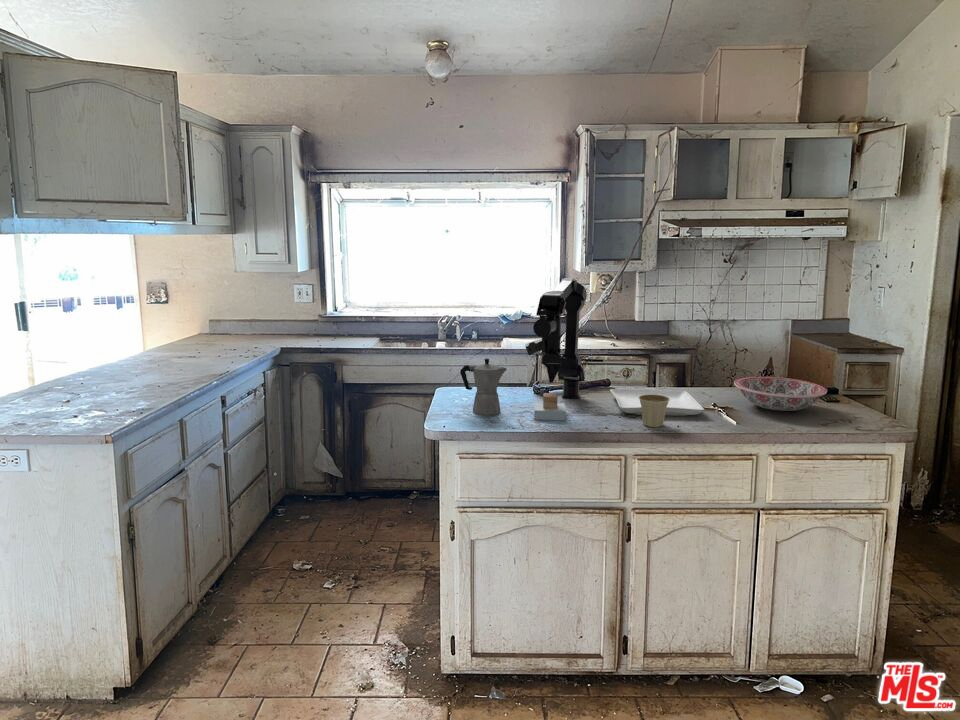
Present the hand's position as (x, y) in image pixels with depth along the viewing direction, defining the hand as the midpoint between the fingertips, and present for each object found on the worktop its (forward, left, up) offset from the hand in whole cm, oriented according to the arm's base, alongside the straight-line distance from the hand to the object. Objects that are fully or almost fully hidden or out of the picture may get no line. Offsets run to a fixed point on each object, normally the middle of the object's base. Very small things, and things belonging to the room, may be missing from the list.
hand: (550, 379), depth 226 cm
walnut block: (+4, 0, -9) cm, 9 cm away
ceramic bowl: (-14, +78, -12) cm, 80 cm away
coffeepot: (+1, -22, -12) cm, 25 cm away
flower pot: (+11, +32, -12) cm, 36 cm away
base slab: (+4, 0, -12) cm, 12 cm away
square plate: (-11, +36, -12) cm, 40 cm away
